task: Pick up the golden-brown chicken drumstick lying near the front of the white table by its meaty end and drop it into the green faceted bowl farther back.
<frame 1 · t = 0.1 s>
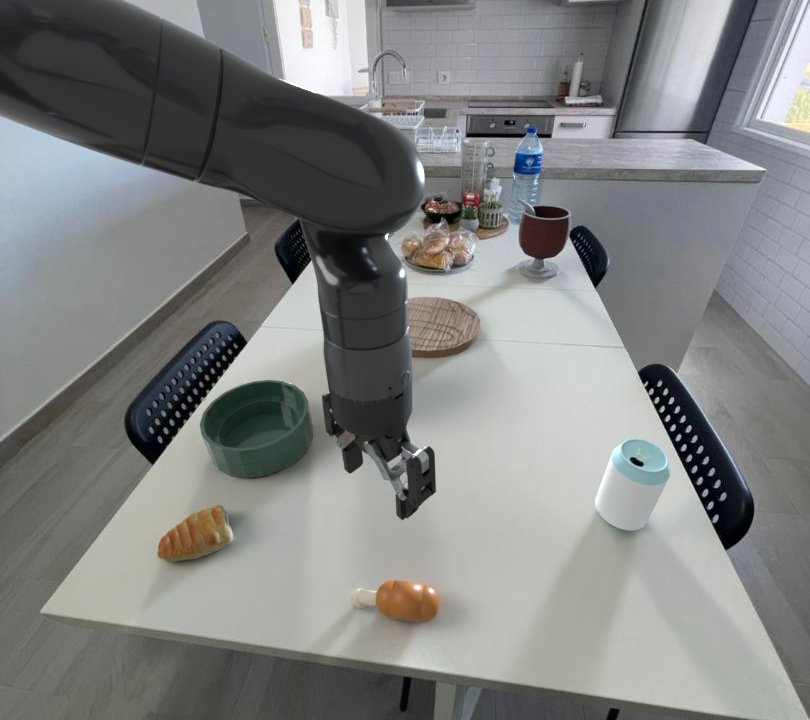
hand: (379, 489, 49), 16 cm above the table, tool pointing down, fingers open, 8 cm apart
trivet: (427, 328, 107), on the table
pastry: (203, 541, 62), on the table
can: (619, 512, 65), on the table
mate gourd: (534, 269, 134), on the table
drumstick: (397, 607, 54), on the table
grey clay lump: (372, 402, 85), on the table
green faceted bowl: (263, 440, 78), on the table
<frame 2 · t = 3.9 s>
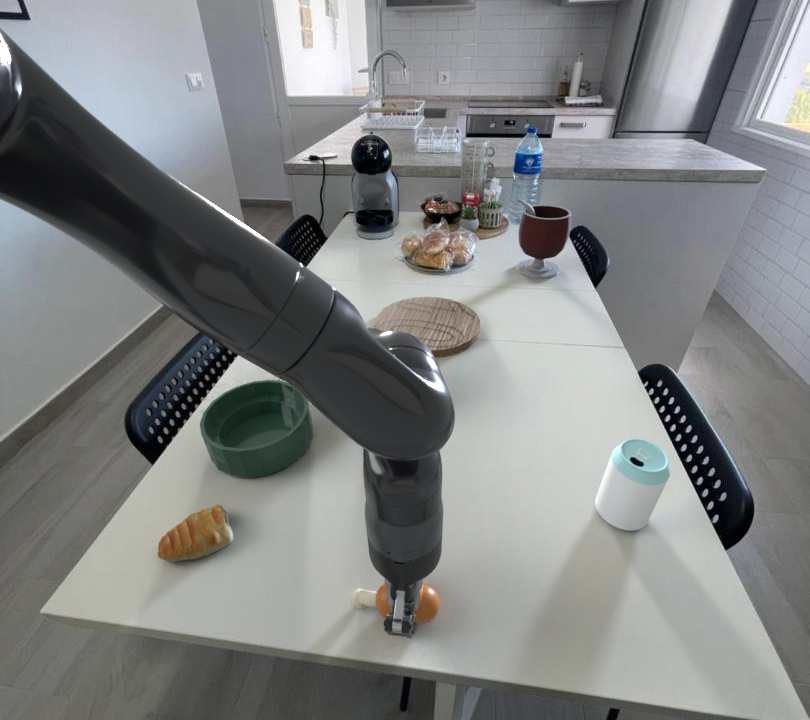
hand: (407, 608, 54), 0 cm above the table, tool pointing down, fingers closed on drumstick, 4 cm apart
drumstick: (397, 607, 54), on the table, touching gripper
everything else where it was.
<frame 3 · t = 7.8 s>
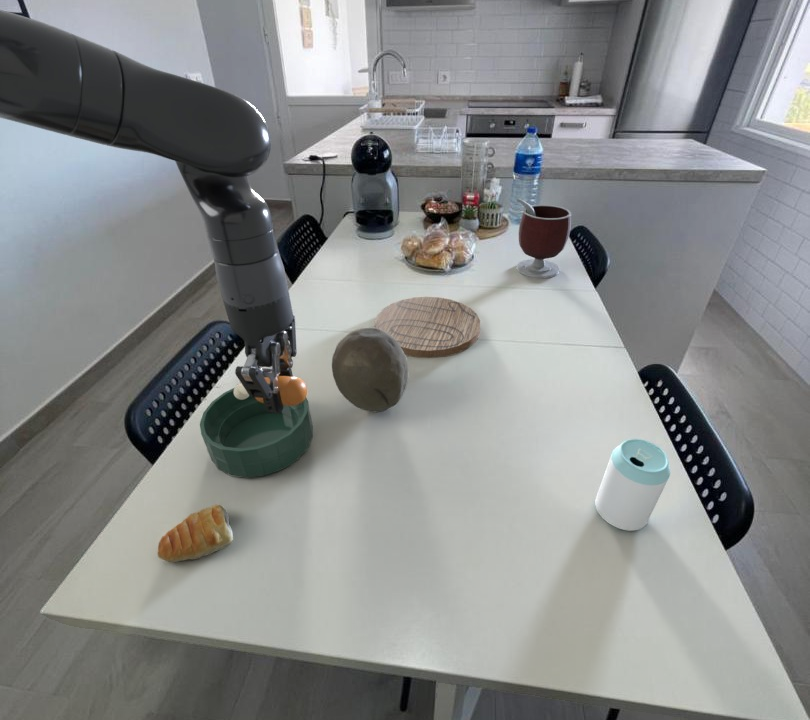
hand: (281, 399, 62), 15 cm above the table, tool pointing down, fingers closed on drumstick, 4 cm apart
drumstick: (274, 400, 63), point 15 cm above the table, touching gripper
everything else where it was.
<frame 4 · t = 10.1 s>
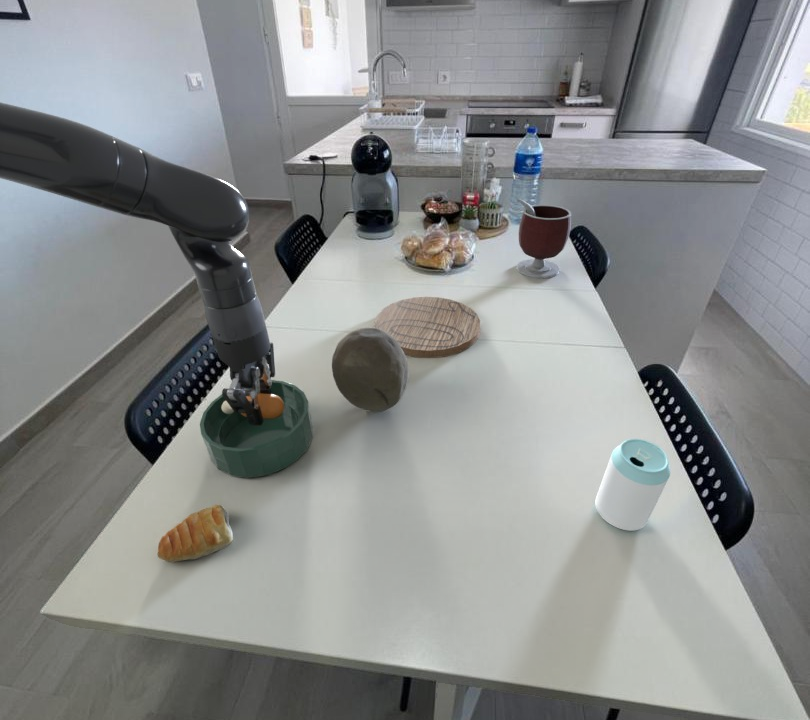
hand: (262, 413, 74), 6 cm above the table, tool pointing down, fingers closed on drumstick, 4 cm apart
drumstick: (256, 413, 74), point 6 cm above the table, touching gripper
everything else where it was.
when the fingers open (1 cm above the table, at t = 12.0 s): drumstick stays where it is, resting on green faceted bowl.
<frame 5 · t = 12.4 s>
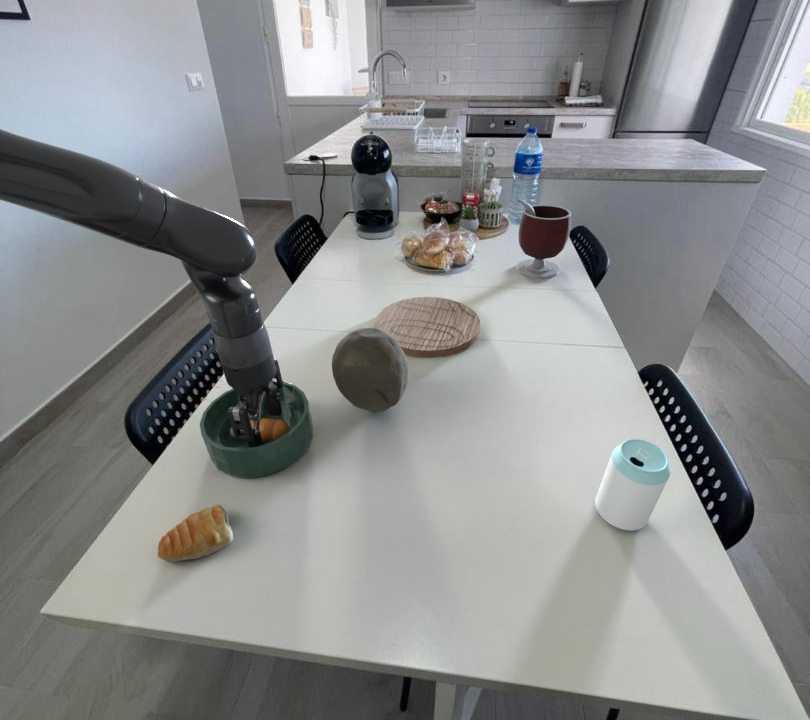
hand: (267, 430, 76), 2 cm above the table, tool pointing down, fingers open, 8 cm apart
drumstick: (263, 438, 77), point 1 cm above the table, touching green faceted bowl
everything else where it was.
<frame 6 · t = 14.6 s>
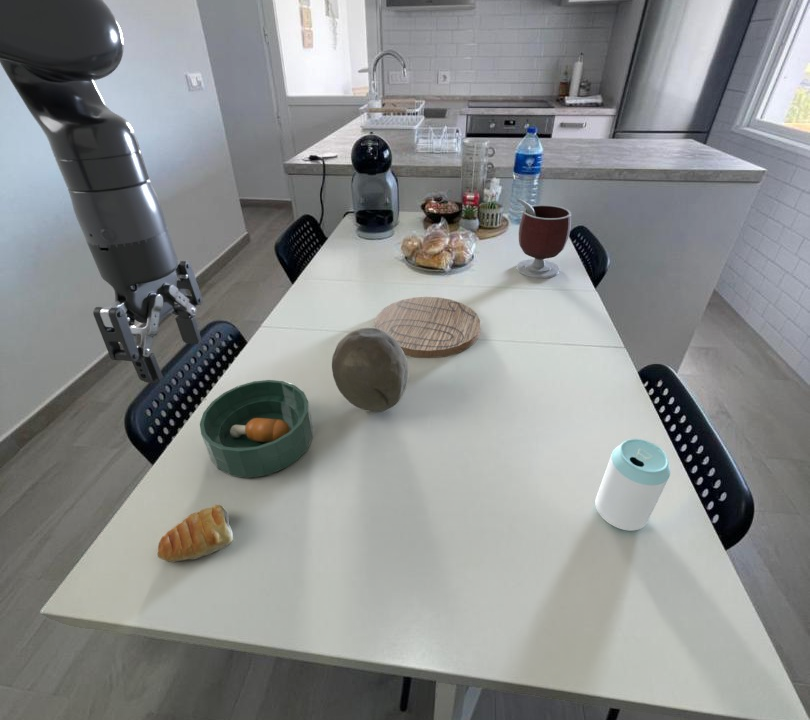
hand: (174, 360, 55), 25 cm above the table, tool pointing down, fingers open, 8 cm apart
nothing on the table moved.
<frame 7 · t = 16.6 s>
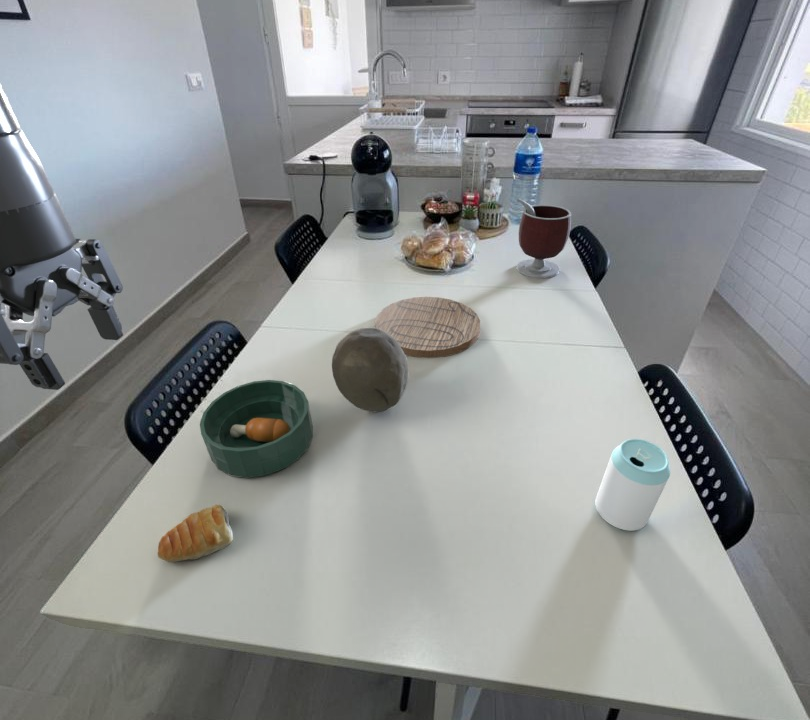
hand: (85, 360, 45), 30 cm above the table, tool pointing down, fingers open, 8 cm apart
nothing on the table moved.
at the end: drumstick inside the target area in the green faceted bowl (0.1 cm from its centre), point 0.5 cm above the green faceted bowl's base; the gripper is holding nothing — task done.
